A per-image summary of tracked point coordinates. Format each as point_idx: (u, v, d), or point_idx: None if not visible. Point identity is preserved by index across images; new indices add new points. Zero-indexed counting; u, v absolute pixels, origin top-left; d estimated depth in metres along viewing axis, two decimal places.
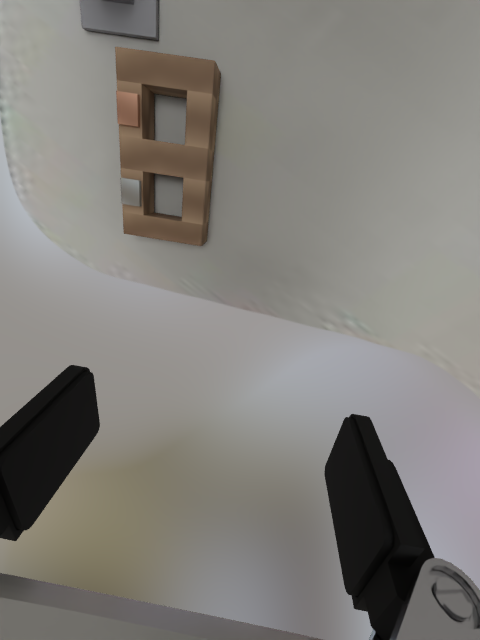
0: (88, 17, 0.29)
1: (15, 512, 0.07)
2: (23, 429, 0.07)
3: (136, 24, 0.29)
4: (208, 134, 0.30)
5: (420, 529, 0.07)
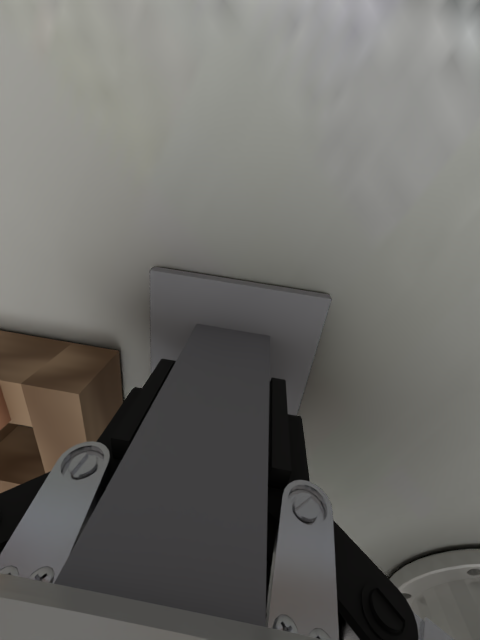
0: (167, 290, 0.13)
1: None
2: (146, 413, 0.08)
3: None
4: None
5: (305, 465, 0.08)
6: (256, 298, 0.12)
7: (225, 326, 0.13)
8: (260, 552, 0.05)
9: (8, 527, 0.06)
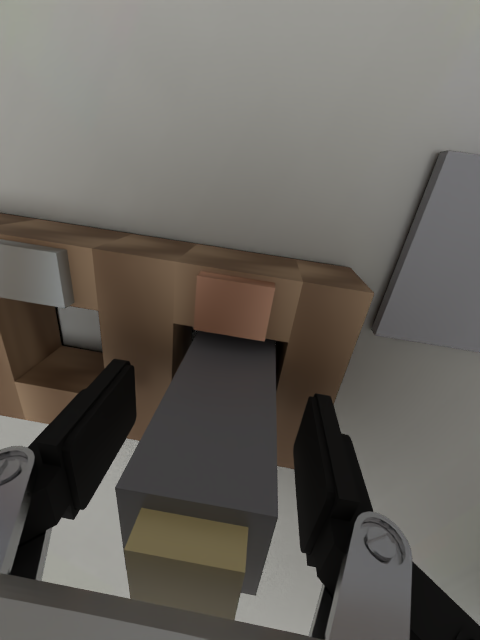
0: (459, 178, 0.11)
1: (75, 492, 0.08)
2: (83, 416, 0.08)
3: (408, 300, 0.13)
4: None
5: (365, 491, 0.08)
6: None
7: None
8: (272, 457, 0.07)
9: None
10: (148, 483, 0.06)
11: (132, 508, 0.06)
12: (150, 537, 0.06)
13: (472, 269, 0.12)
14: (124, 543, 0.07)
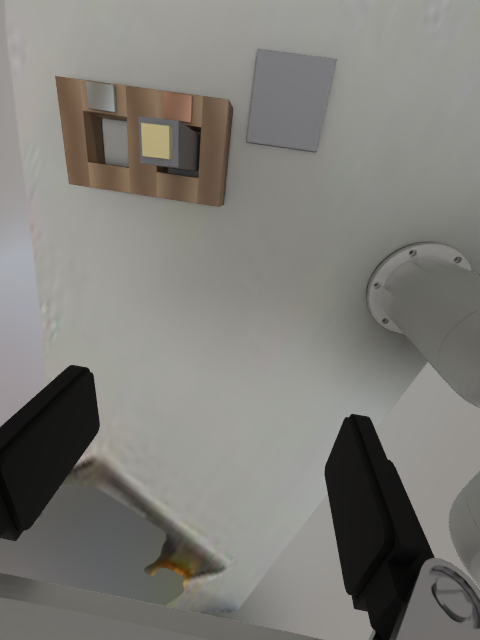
0: (264, 60, 0.29)
1: (15, 512, 0.07)
2: (23, 429, 0.07)
3: (256, 120, 0.31)
4: (167, 197, 0.33)
5: (420, 529, 0.07)
6: (304, 61, 0.28)
7: (288, 80, 0.29)
8: (181, 123, 0.25)
9: None
10: (146, 117, 0.24)
11: None
12: (147, 124, 0.24)
13: (278, 103, 0.30)
14: (140, 146, 0.25)
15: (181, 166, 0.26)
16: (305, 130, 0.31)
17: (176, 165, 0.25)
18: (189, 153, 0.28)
